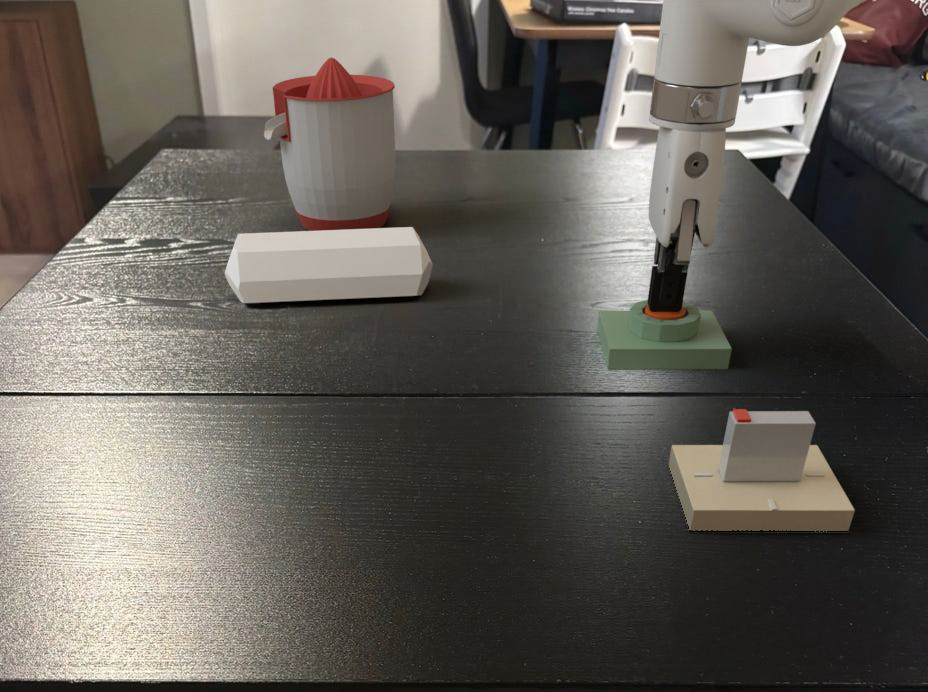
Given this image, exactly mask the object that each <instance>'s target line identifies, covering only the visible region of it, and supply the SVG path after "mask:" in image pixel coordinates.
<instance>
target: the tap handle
mask: <svg viewBox="0 0 928 692" xmlns="http://www.w3.org/2000/svg"><path fill="white" fill-rule="evenodd" d="M726 422H727V423H726V428H725V433H724V437H723V441H722V442H723V443H722V445H723V447H722V452H721V457H720V462H719V467H718V470H719V472H720V474H721V477H722V479H723V481H724V482H730V481H800V480H801V476H802V473H803V469H804V465H805V461H806V458H807V454H808V450H809V447H810V445H811V443H812V439H813V435H814V432H815V428H816V425H817V423H816V421H815V420H814V417H813V416H812V415H811V413H810V411H808V410H773V411H772V410H771V411H770V410H767V411H766V410H765V411H763V410H762V411H761V410H760V411H758V410H757V411H756V410H754V411H753V410H752V411H751V410H750V411H748V410H747V409H746V408H735V409H734V408H733V409H732V411H731V410H730V411H729V412H728V418H727V421H726Z"/></svg>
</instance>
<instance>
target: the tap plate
mask: <svg viewBox="0 0 928 692" xmlns="http://www.w3.org/2000/svg"><path fill="white" fill-rule="evenodd" d="M722 447H723V444H672V445H671V448H670V453H669V460H668V465H669V466H668V469H669V468H670V469H669V472H670V471H671V472H670V475H671V474H672V476H671V478H672V477H673V479H672V481H673V480H674V482H673V485H674V484H675V485H674V488H675V487H676V488H675V491H676V490H677V491H676V494H677V493H678V494H677V497H678V496H679V497H678V500H679V499H680V501H679V503H680V502H681V504H680V506H681V505H682V507H681V509H682V508H683V510H682V512H683V511H684V513H683V515H684V514H685V516H684V518H685V517H686V519H685V521H686V520H687V522H686V525H687V524H688V526H689V529H688V531H689V530H693V531H695V530H698V531H701V530H703V531H706V530H708V531H711V530H713V531H717V530H718V531H732V530H734V531H737V530H739V531H742V530H743V531H746V530H748V531H751V530H752V531H760V530H763V531H769V530H771V531H773V530H775V531H778V530H779V531H782V530H783V531H786V530H787V531H790V530H791V531H815V532H814V533H817V532H816V531H819V532H818V533H821V532H820V531H823V532H822V533H828V532H827V531H848V532H849V530H850V527H851V524H852V521H853V518H854V515H855V511H856V510H855V508H854V506H853V504H852V503H851V501H850V499H849V497H848V496H847V494H846V492H845V491H844V489H843V487H842V485H841V484H840V482H839V480H838V479H837V476H836V475H835V473H834V472H833V470H832V468H831V467H830V465H829V463H828V461H827V459H826V458H825V456H824V454H823V453H822V450H821V449H820V447H819V445H817V444H810V447H809V450H808V454H807V458H806V461H805V465H804V469H803V473H802V476H801V480H800V481H730V482H724V481H723V479H722V477H721V474H720V472H719V470H718V467H719V462H720V457H721V452H722ZM688 526H687V527H688ZM824 531H826V532H824Z"/></svg>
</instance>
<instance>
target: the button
mask: <svg viewBox="0 0 928 692" xmlns="http://www.w3.org/2000/svg"><path fill="white" fill-rule="evenodd" d="M685 312H686V310H685V308H684V307H682V309H681V311H679V312H652V311H650V309H649V306H648V305H647V306H646V308H645V315H647V316H649V317H651V318H655V319H660V320H678V319H682V318H685Z"/></svg>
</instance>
